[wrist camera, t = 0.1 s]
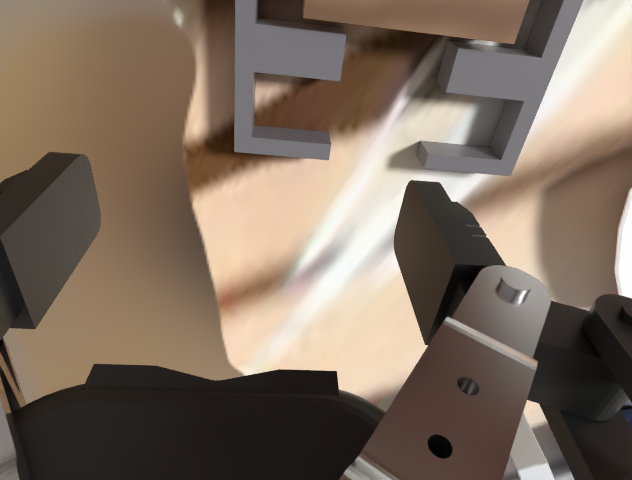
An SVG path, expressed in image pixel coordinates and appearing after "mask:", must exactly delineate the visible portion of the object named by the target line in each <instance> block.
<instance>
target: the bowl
mask: <svg viewBox="0 0 632 480" xmlns="http://www.w3.org/2000/svg"><path fill="white" fill-rule="evenodd" d="M614 272H615V278H616V283H617V289H618V294H619V295H621V296H625V297H629V298H632V188H631V189H630V190H629V192H628V196H627V199H626V203H625V206H624V209H623V213H622V216H621V220H620V223H619V227H618V234H617V245H616V256H615V267H614Z"/></svg>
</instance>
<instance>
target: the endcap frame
mask: <svg viewBox="0 0 632 480" xmlns="http://www.w3.org/2000/svg"><path fill="white" fill-rule="evenodd" d="M582 2H583V0H543V2H542V5H541V7H540V10H539V13H538V16H537V18H536V21H535V24H534V26H533V29H532V32H531V35H530V37H529V40H528V43H527V46H526V48H525V50H521V49H513V48H504V47H496V46H488V45H480V44H471V43H463V42H455V41H447V44H446V47H445V51H444V55H443V59H442V62H441V66H440V70H439V74H438V77H437V81H436V83H437V84H438V85H439V86H440V87H441V88H442V89H443V90H444V91H445V92H446V93H454V94H463V95H473V96H482V97H491V98H501V99H507V100H506V103H505V105H504V108H503V111H502V114H501V116H500V119H499V122H498V125H497V127H496V130H495V133H494V135H493V138H492V141H491V144H490V146H489V147H480V146H469V145H458V144H448V143H437V142H427V141H420V145H419V148H418V152H417V157H418V159H419V160H420V162H421V164H422V165H423V167H424V169H435V170H446V171H458V172H469V173H480V174H492V175H503V176H511V174H512V171H513V169H514V167H515V164H516V162H517V159H518V157H519V154H520V152H521V150H522V147H523V145H524V142H525V140H526V138H527V135H528V133H529V130H530V128H531V126H532V123H533V121H534V118H535V116H536V113H537V111H538V109H539V106H540V104H541V101H542V99H543V97H544V94H545V92H546V89H547V87H548V85H549V82H550V80H551V77H552V75H553V72H554V70H555V68H556V65H557V63H558V60H559V58H560V56H561V53H562V51H563V48H564V46H565V43H566V41H567V39H568V36H569V34H570V31H571V29H572V27H573V24H574V22H575V19H576V17H577V15H578V12H579V10H580V7H581V5H582ZM346 36H347V34H346V33H345V31H344V29H343V28H339V27H330V26H322V25H314V24H305V23H297V22H289V21H280V20H272V19H264V18H258V0H235V107H234V152H241V153H252V154H264V155H275V156H286V157H298V158H309V159H321V160H329V155H330V148H331V142H330V137H329V132H321V131H310V130H300V129H289V128H279V127H268V126H257V125H254V115H255V85H256V72H258V73H268V74H277V75H286V76H296V77H305V78H314V79H324V80H333V81H340V78H341V71H342V64H343V57H344V50H345V43H346Z"/></svg>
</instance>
